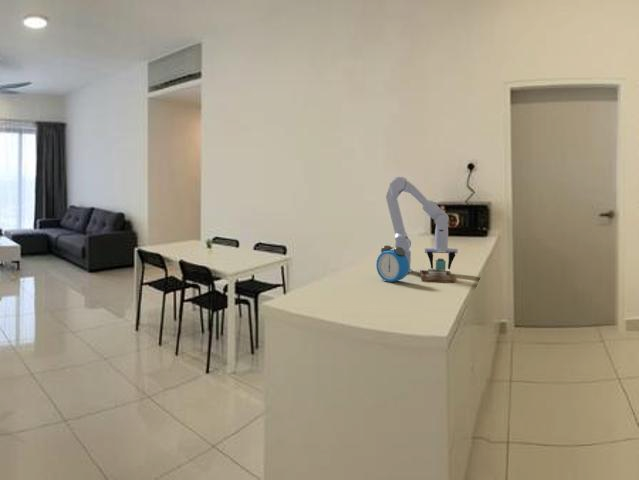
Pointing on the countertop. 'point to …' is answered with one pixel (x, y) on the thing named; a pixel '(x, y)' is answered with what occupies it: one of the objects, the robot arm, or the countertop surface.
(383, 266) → the alarm clock
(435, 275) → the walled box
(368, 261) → the countertop surface
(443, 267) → the connector
